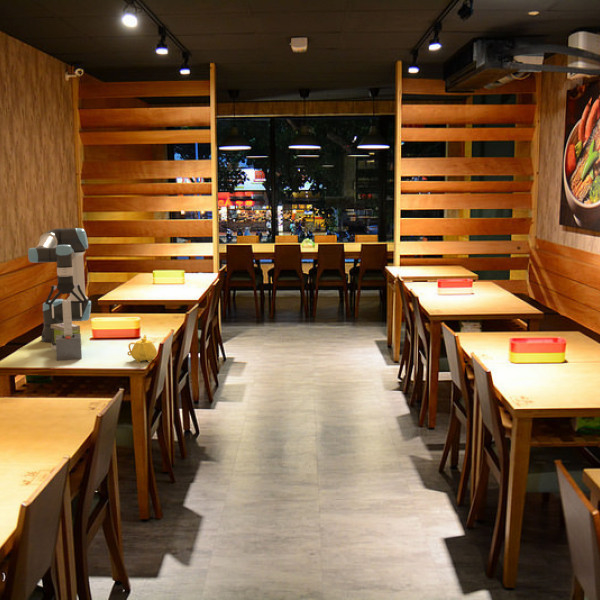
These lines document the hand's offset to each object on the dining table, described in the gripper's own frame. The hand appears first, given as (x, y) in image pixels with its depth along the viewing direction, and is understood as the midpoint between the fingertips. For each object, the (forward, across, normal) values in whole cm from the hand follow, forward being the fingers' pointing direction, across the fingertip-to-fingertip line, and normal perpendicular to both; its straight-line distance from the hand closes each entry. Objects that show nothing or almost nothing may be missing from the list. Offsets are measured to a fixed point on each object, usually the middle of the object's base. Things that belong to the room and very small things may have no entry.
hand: (67, 316), depth 357 cm
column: (+15, 0, 0) cm, 15 cm away
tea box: (+22, -2, +20) cm, 30 cm away
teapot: (+22, +36, -13) cm, 44 cm away
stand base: (+22, 0, 0) cm, 22 cm away
